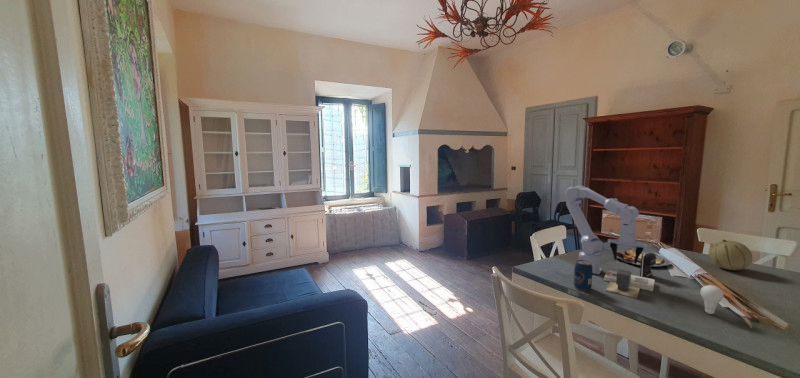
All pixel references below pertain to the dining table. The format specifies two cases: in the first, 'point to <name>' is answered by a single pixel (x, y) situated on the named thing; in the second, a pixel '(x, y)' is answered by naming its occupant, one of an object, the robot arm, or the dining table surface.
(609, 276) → the white slotted block
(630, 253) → the food plate
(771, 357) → the dining table surface
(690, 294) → the dining table surface
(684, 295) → the dining table surface
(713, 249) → the cantaloupe
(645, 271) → the battery charger
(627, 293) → the pad
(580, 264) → the soda can
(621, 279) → the block
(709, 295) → the lightbulb
